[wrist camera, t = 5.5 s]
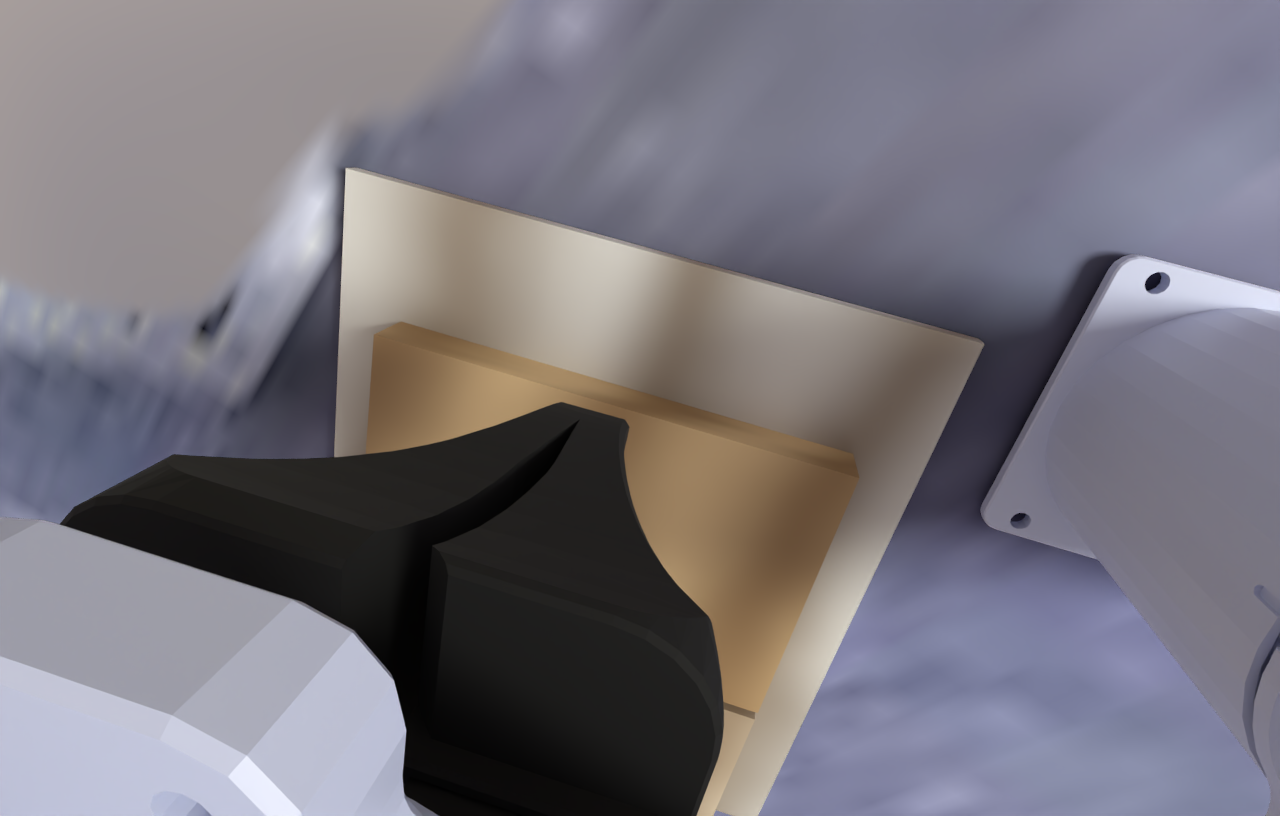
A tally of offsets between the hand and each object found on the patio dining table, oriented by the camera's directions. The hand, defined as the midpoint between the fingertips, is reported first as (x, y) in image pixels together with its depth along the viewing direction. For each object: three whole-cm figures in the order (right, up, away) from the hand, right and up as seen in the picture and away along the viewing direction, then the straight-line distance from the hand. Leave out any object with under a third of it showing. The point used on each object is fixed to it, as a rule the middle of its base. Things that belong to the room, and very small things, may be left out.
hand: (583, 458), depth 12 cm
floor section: (-1, -3, +10) cm, 11 cm away
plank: (-1, -2, +9) cm, 10 cm away
